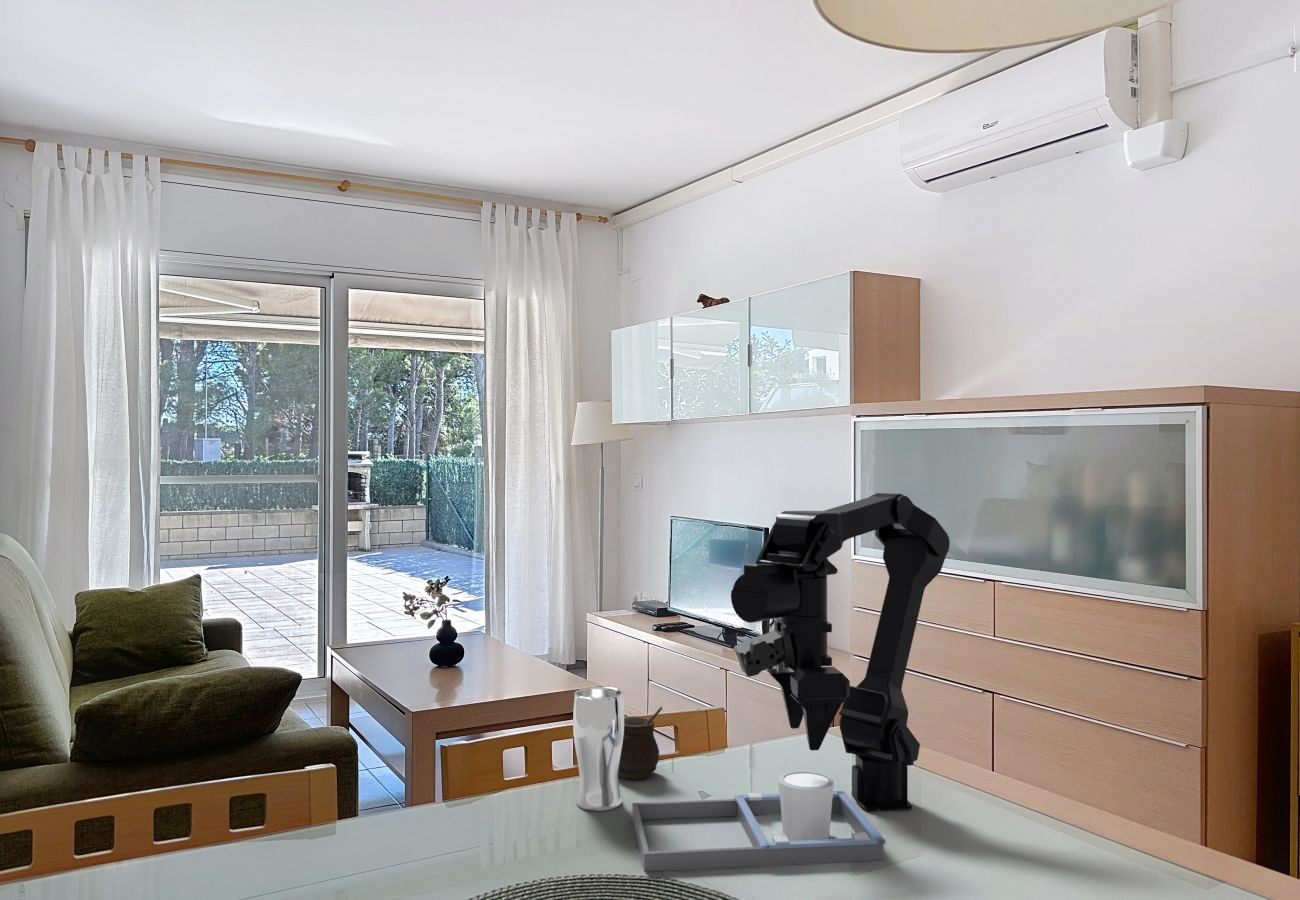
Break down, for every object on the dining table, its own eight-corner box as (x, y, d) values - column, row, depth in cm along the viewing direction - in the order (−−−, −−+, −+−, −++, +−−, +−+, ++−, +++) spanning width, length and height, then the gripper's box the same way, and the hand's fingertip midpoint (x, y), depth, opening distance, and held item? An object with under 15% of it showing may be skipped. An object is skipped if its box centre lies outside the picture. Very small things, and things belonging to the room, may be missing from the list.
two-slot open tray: (843, 809, 130) (843, 788, 130) (885, 860, 114) (885, 837, 114) (632, 817, 128) (632, 797, 128) (644, 872, 111) (644, 848, 111)
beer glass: (627, 794, 136) (627, 686, 136) (621, 813, 129) (620, 699, 129) (578, 793, 137) (577, 685, 137) (569, 811, 130) (568, 698, 130)
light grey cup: (837, 829, 124) (837, 773, 124) (829, 850, 117) (829, 791, 117) (783, 822, 126) (783, 767, 126) (772, 842, 119) (772, 785, 119)
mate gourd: (605, 769, 147) (606, 702, 147) (654, 765, 149) (655, 699, 149) (615, 784, 140) (616, 714, 140) (666, 781, 142) (667, 711, 142)
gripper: (725, 602, 130) (726, 720, 130) (756, 628, 112) (756, 765, 112) (808, 600, 131) (808, 717, 131) (851, 626, 113) (851, 761, 113)
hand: (804, 738), depth 122 cm, fingers open, 9 cm apart
